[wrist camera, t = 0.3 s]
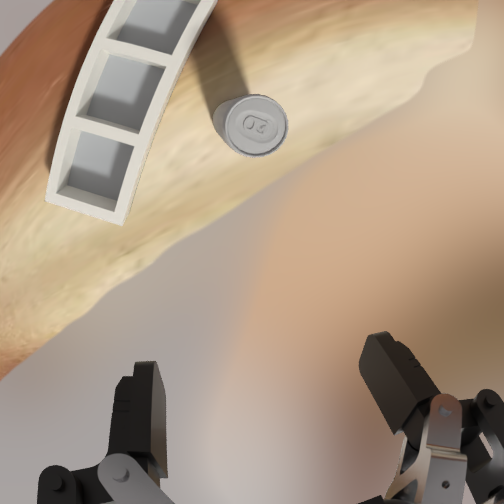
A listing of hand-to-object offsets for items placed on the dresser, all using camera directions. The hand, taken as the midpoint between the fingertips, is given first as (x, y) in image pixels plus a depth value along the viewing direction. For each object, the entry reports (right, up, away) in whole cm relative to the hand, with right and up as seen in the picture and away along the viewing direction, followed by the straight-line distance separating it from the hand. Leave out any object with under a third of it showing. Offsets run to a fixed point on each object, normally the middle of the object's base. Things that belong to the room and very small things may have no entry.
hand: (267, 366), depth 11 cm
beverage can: (-2, +18, +20) cm, 27 cm away
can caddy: (-14, +21, +16) cm, 30 cm away
